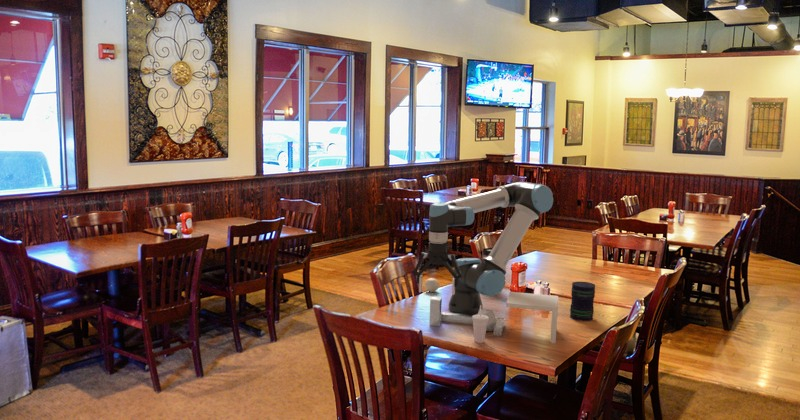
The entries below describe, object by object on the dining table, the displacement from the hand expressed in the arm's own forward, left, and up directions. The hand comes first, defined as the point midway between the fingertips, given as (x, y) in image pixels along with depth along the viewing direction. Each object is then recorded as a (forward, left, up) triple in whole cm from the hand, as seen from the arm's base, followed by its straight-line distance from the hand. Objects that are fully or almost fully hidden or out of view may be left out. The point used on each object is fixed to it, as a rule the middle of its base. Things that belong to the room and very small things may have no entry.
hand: (437, 292), depth 280 cm
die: (+20, 0, -14) cm, 24 cm away
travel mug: (+15, +66, -14) cm, 69 cm away
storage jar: (+59, +30, -14) cm, 67 cm away
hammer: (+13, +1, -13) cm, 18 cm away
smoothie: (+20, -15, -14) cm, 28 cm away
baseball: (-11, +51, -14) cm, 54 cm away
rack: (+38, +1, -13) cm, 41 cm away
